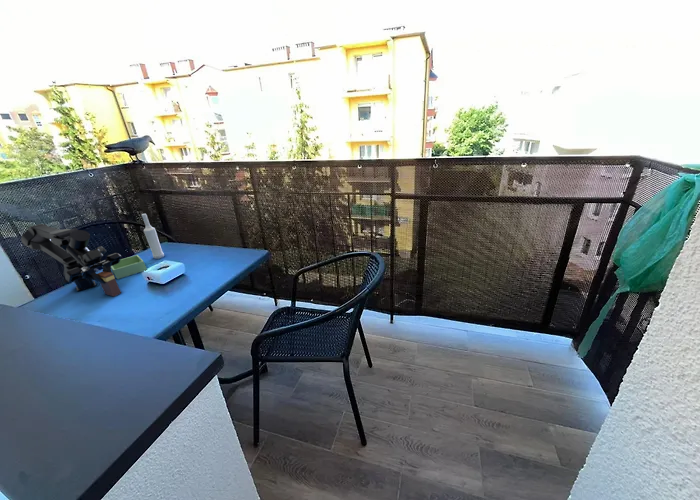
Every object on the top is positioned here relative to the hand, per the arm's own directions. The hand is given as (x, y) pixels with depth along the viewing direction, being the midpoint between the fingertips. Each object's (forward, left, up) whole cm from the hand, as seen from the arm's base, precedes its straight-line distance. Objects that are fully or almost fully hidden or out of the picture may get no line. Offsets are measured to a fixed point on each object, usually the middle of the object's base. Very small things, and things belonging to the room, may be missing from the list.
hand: (109, 281), depth 115 cm
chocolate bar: (-1, -1, -7) cm, 7 cm away
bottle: (-29, +24, -7) cm, 39 cm away
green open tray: (-22, +9, -7) cm, 25 cm away
